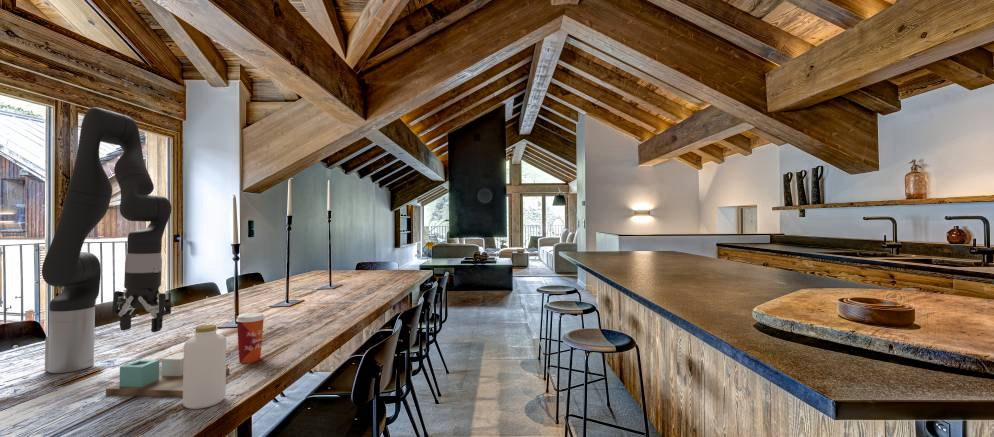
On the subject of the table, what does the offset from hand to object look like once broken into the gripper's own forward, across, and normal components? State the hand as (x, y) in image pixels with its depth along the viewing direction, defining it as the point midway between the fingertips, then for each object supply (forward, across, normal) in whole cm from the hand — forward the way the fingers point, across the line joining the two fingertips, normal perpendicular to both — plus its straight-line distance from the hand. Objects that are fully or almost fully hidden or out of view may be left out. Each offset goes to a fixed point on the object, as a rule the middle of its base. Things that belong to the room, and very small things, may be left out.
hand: (140, 330), depth 111 cm
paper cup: (+13, +18, +19) cm, 29 cm away
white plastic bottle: (+13, +27, -11) cm, 32 cm away
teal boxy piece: (+12, +5, -4) cm, 14 cm away
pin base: (+13, +10, 0) cm, 16 cm away
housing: (+12, +8, +3) cm, 15 cm away
